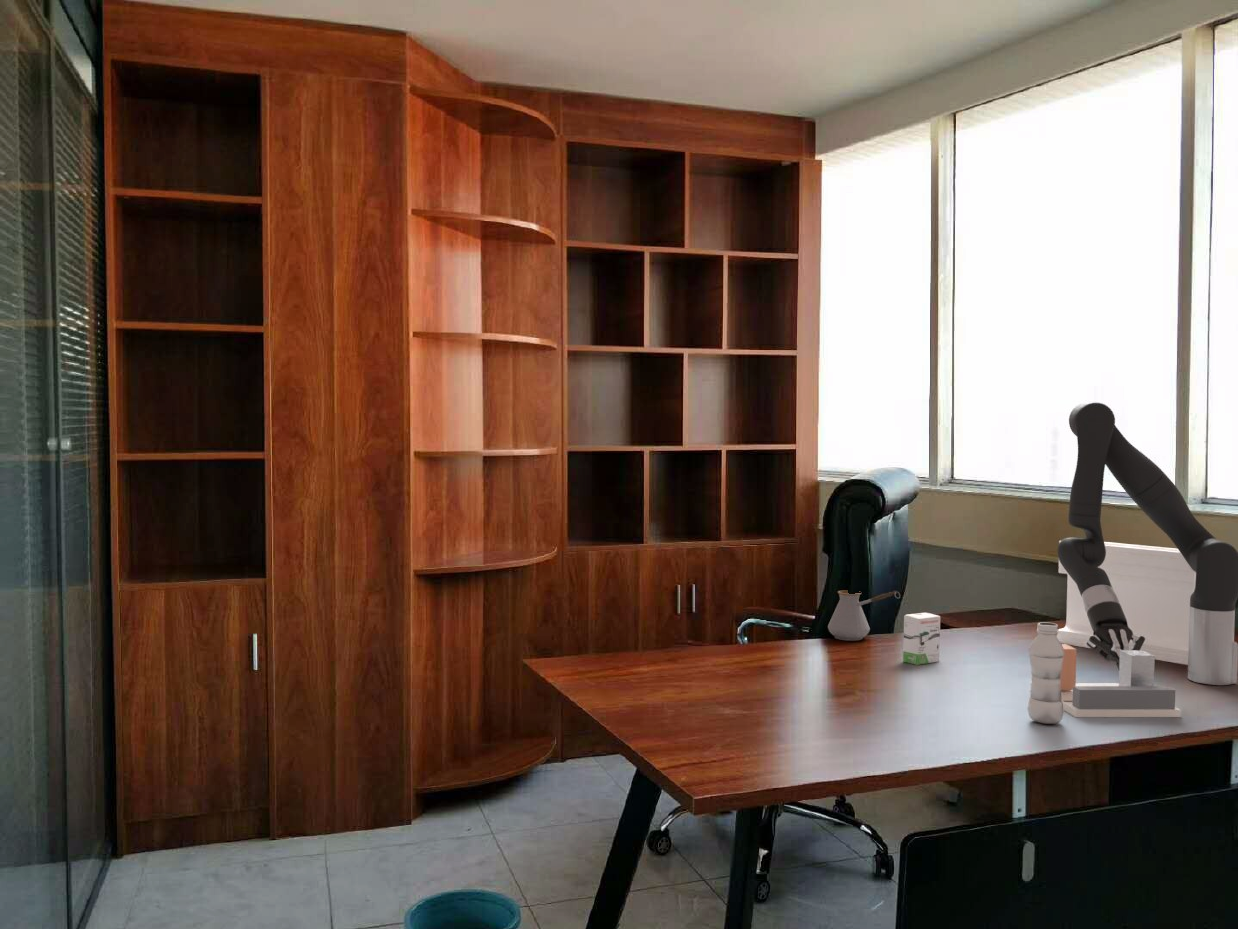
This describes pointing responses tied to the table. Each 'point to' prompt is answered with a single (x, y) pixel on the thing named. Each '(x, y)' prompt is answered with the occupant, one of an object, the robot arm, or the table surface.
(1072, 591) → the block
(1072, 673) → the tall salmon pillar
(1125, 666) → the brushed metal pillar
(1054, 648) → the plastic bottle
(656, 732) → the table surface
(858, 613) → the coffee pot
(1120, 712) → the plate
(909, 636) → the ink box
